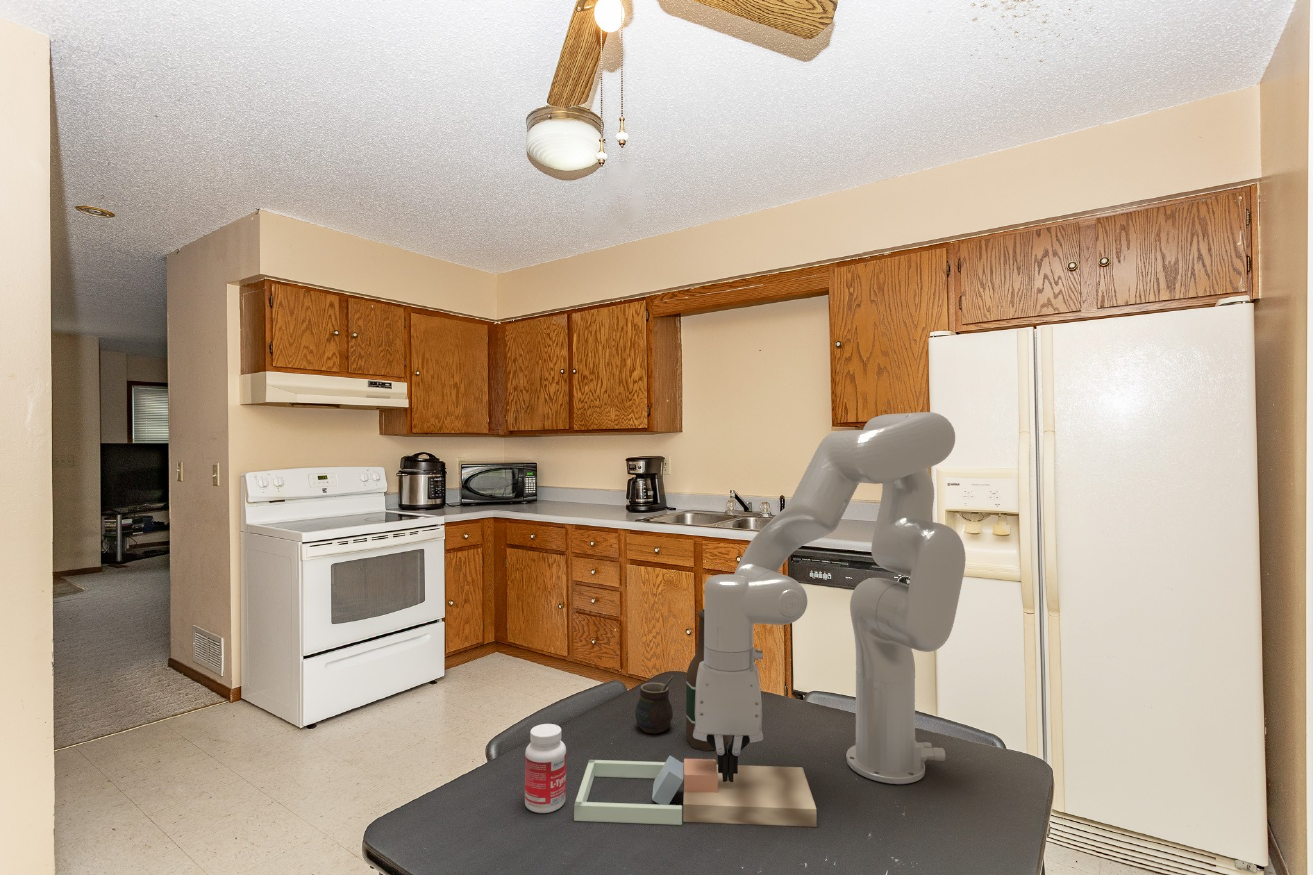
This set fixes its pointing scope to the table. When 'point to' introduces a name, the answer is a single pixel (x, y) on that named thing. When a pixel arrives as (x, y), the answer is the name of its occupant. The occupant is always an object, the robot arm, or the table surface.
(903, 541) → the robot arm
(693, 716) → the beer bottle
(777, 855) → the table surface
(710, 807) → the wooden cutting board
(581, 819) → the u-shaped frame
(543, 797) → the pill bottle
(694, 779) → the terracotta tile
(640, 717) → the mate gourd
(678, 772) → the slate tile
